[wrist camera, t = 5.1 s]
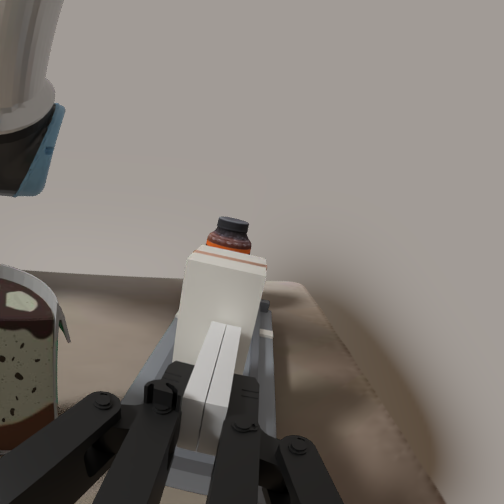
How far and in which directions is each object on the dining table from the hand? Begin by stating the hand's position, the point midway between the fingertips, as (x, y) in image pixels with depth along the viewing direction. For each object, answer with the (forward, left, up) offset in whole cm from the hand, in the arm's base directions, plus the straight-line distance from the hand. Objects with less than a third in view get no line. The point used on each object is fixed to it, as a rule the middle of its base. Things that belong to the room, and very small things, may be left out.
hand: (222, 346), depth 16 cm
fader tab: (-1, +2, -6) cm, 6 cm away
